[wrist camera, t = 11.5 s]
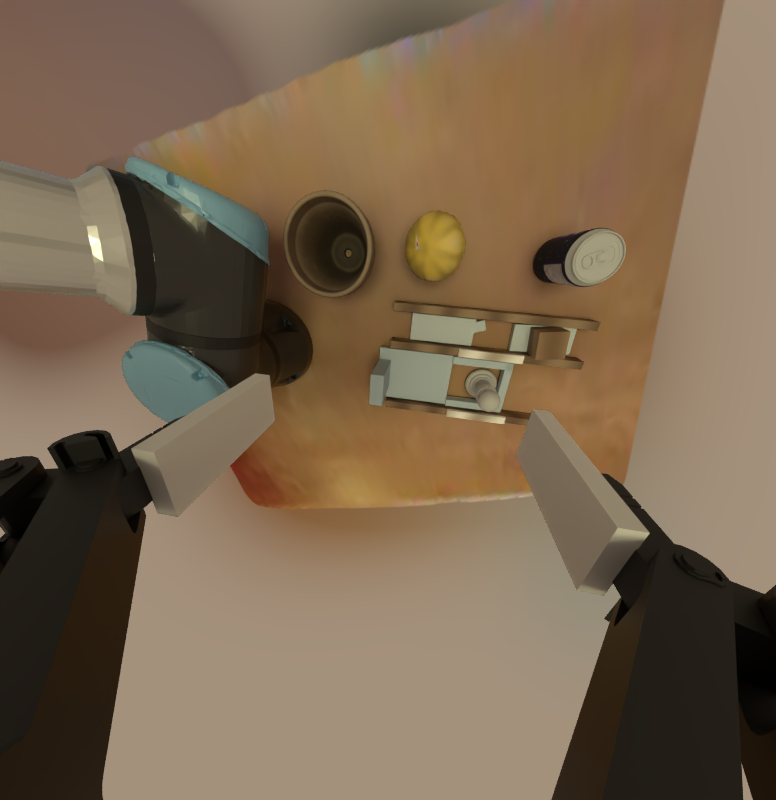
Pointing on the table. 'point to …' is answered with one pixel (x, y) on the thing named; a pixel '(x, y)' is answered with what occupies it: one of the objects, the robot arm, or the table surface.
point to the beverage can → (580, 258)
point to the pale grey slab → (427, 377)
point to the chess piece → (483, 389)
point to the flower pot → (328, 244)
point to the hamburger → (435, 246)
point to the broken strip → (468, 331)
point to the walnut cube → (548, 342)
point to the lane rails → (481, 355)
